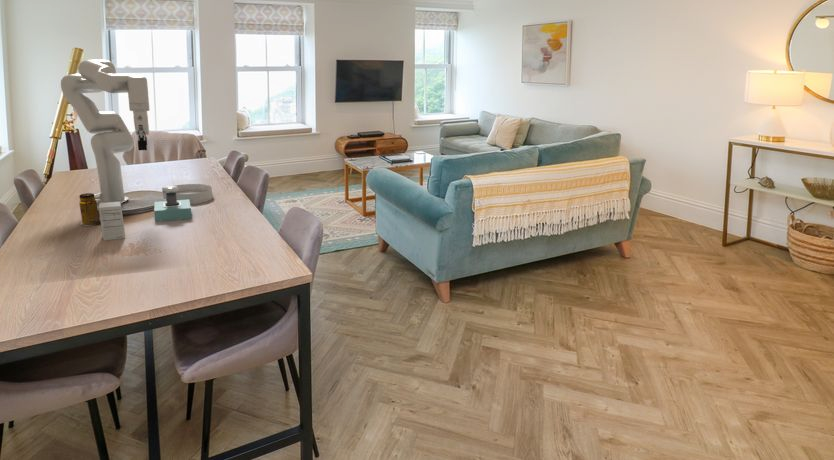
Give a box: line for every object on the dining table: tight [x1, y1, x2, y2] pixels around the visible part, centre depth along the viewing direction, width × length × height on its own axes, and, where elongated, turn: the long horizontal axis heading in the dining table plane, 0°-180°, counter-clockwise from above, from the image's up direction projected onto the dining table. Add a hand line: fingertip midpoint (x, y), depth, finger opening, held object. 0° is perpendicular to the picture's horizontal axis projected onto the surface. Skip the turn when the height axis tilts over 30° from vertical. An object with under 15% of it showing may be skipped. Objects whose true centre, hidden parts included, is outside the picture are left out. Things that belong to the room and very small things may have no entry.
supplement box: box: [98, 202, 126, 241], centre depth 219 cm, size 7×7×13 cm
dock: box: [153, 199, 193, 222], centre depth 250 cm, size 14×16×5 cm
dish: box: [162, 183, 214, 205], centre depth 278 cm, size 22×22×5 cm
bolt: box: [161, 185, 179, 206], centre depth 249 cm, size 6×6×12 cm
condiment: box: [78, 192, 101, 227], centre depth 236 cm, size 7×8×12 cm
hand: (142, 147), depth 249 cm, fingers open, 9 cm apart
